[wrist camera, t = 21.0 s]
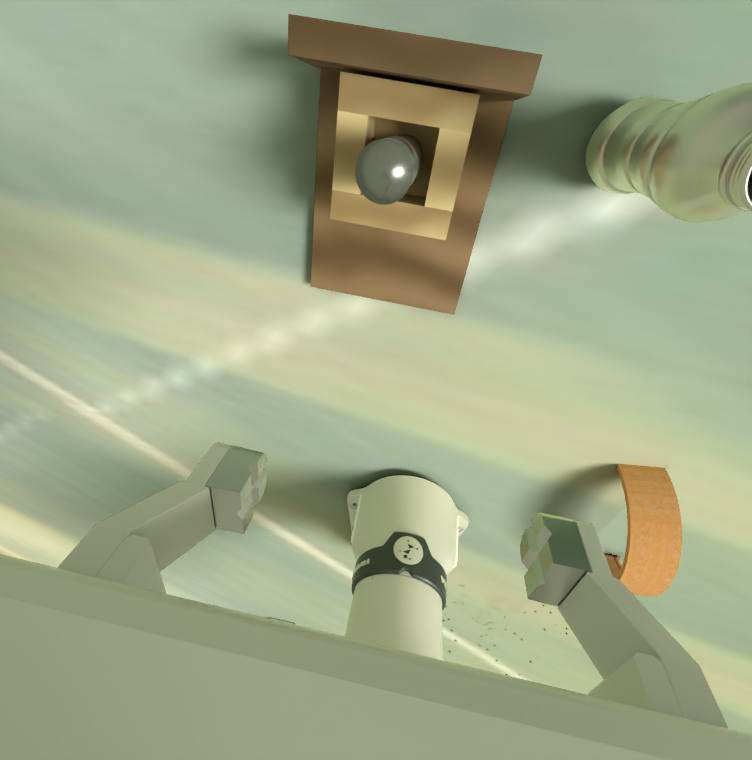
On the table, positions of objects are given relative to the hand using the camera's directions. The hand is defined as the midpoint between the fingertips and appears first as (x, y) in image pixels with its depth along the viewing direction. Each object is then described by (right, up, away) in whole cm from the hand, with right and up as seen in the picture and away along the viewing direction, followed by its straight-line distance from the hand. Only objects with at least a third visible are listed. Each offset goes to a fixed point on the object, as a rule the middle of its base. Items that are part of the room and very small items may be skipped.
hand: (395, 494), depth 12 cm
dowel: (+2, +23, +22) cm, 32 cm away
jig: (+2, +21, +26) cm, 33 cm away
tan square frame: (+2, +23, +23) cm, 33 cm away
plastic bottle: (+20, +23, +21) cm, 37 cm away
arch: (+34, -16, +45) cm, 58 cm away
